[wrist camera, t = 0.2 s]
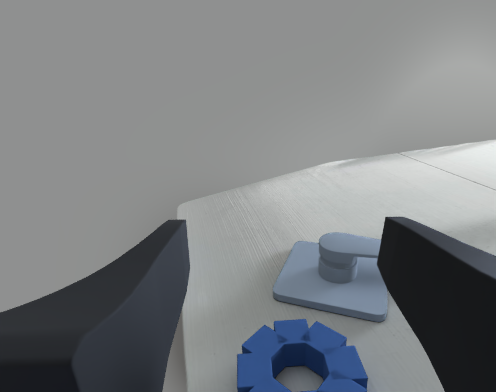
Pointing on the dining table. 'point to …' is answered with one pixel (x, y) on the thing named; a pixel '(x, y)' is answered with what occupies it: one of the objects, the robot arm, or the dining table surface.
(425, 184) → the dining table surface
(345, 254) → the shower valve
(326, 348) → the ring
